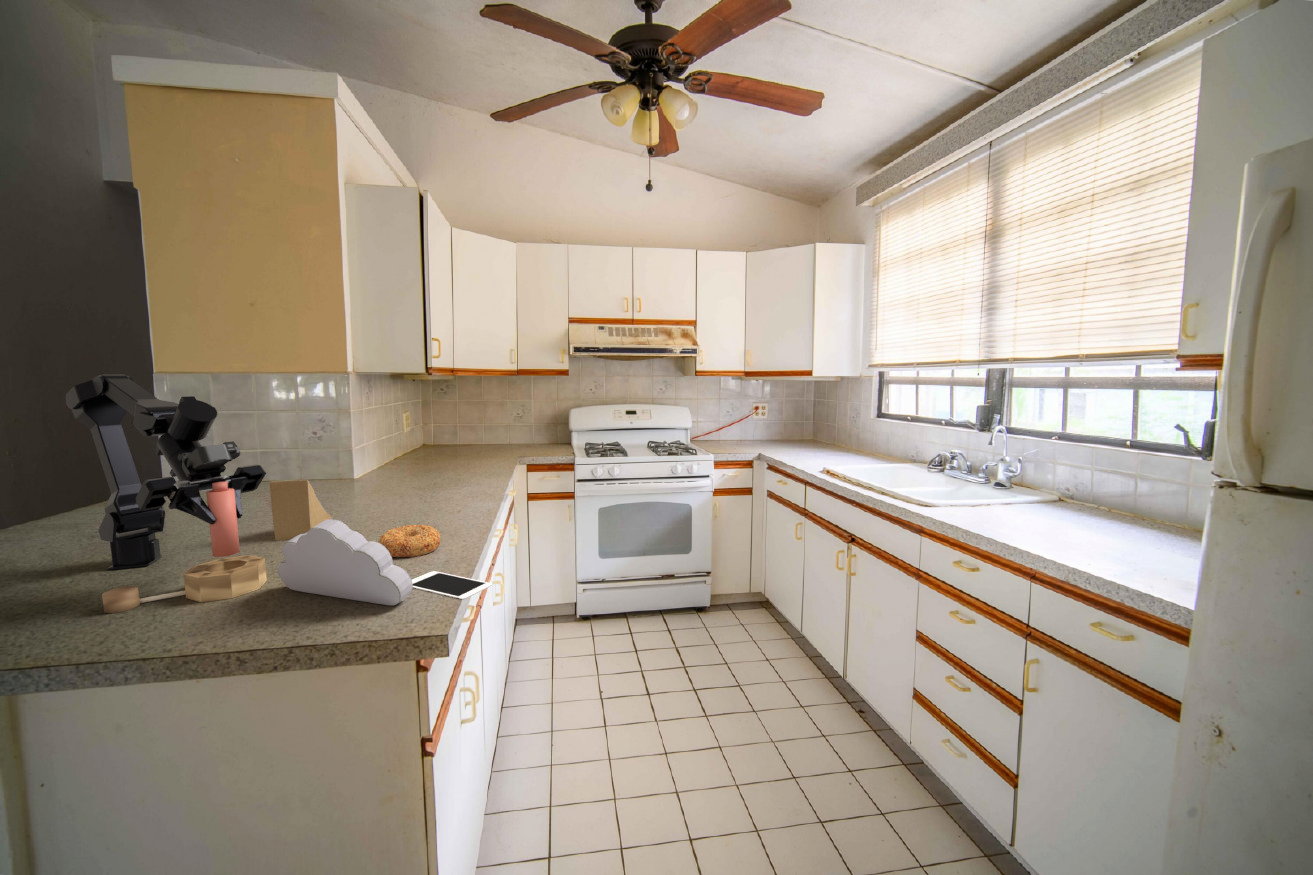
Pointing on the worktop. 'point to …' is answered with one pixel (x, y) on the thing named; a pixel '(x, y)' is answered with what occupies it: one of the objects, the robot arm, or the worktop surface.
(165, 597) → the white thin stick
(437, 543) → the bagel
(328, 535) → the decorative item
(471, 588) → the cell phone
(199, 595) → the bead
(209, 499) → the pink bottle
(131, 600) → the small bead
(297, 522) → the sandwich container
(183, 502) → the robot arm
